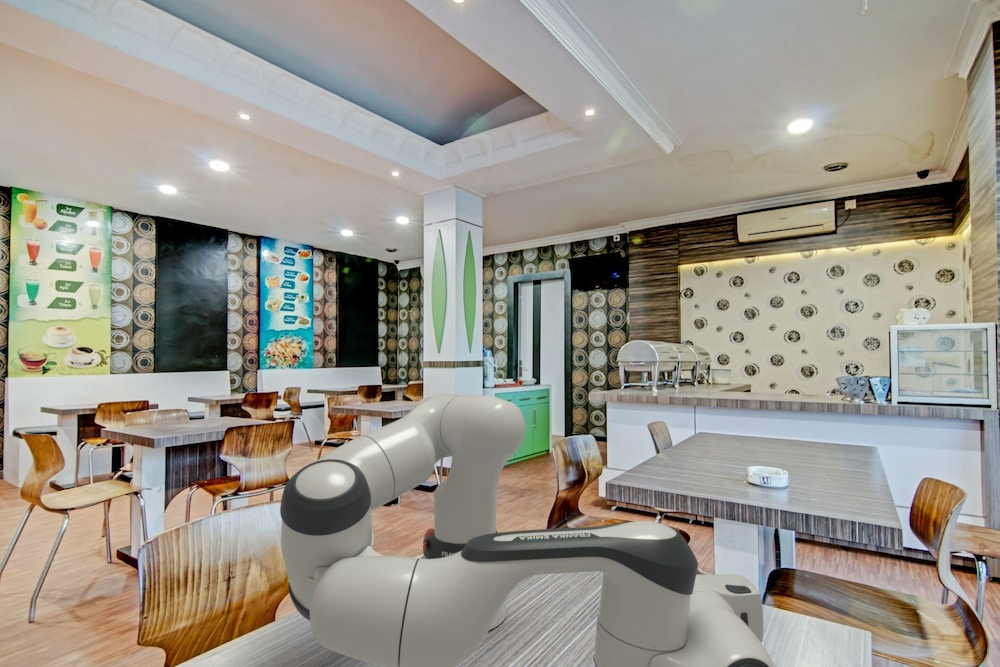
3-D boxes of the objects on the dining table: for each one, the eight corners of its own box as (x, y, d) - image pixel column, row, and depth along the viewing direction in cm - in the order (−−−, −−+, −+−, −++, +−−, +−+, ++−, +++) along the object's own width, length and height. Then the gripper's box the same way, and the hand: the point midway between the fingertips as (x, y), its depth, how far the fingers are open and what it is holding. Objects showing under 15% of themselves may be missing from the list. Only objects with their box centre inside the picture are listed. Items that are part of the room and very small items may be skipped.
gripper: (612, 641, 65) (596, 593, 79) (775, 643, 64) (730, 594, 78) (611, 590, 65) (595, 551, 79) (773, 591, 64) (729, 552, 78)
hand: (663, 572), depth 79 cm, fingers open, 8 cm apart
